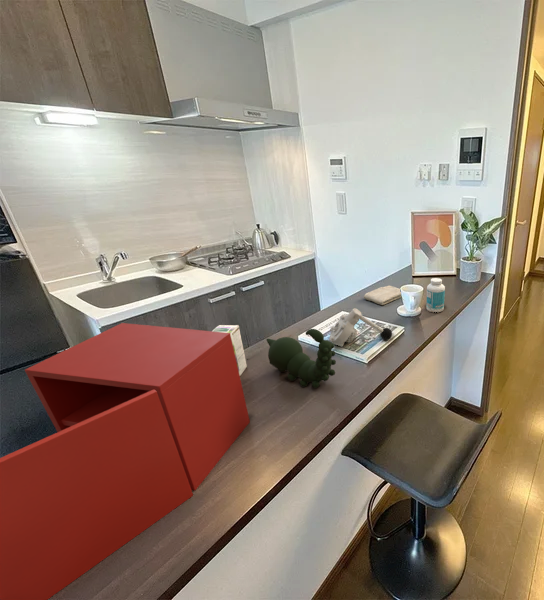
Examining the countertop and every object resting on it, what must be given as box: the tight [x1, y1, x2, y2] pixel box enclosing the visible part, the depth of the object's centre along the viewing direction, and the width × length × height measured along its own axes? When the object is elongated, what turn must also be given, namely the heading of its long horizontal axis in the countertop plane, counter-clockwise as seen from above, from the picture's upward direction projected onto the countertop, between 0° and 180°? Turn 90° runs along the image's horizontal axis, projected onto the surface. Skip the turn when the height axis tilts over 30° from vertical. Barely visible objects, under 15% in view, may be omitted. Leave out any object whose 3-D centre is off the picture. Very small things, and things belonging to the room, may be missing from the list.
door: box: [0, 390, 194, 600], centre depth 45 cm, size 7×26×24 cm, turn 144°
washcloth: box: [363, 284, 402, 306], centre depth 150 cm, size 12×18×3 cm, turn 140°
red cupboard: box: [24, 322, 251, 491], centre depth 67 cm, size 18×26×24 cm
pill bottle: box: [426, 277, 446, 314], centre depth 136 cm, size 8×7×14 cm
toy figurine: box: [265, 328, 337, 389], centre depth 91 cm, size 9×19×25 cm
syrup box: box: [212, 324, 248, 376], centre depth 94 cm, size 6×6×14 cm
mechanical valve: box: [329, 307, 393, 348], centre depth 113 cm, size 10×18×15 cm
